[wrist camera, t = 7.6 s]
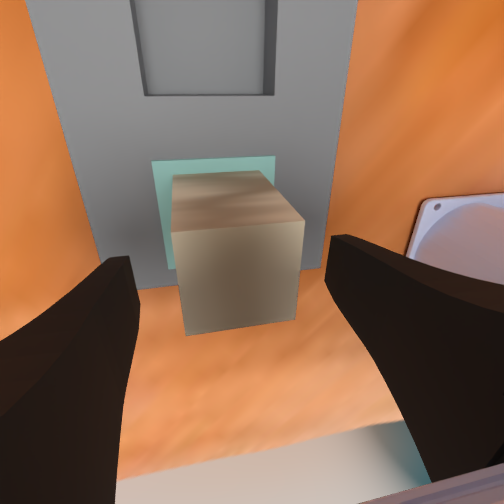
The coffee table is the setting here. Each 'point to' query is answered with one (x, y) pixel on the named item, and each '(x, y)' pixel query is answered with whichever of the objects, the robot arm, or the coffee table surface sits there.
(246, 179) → the birch block
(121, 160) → the pocket board
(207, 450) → the coffee table surface
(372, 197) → the coffee table surface
